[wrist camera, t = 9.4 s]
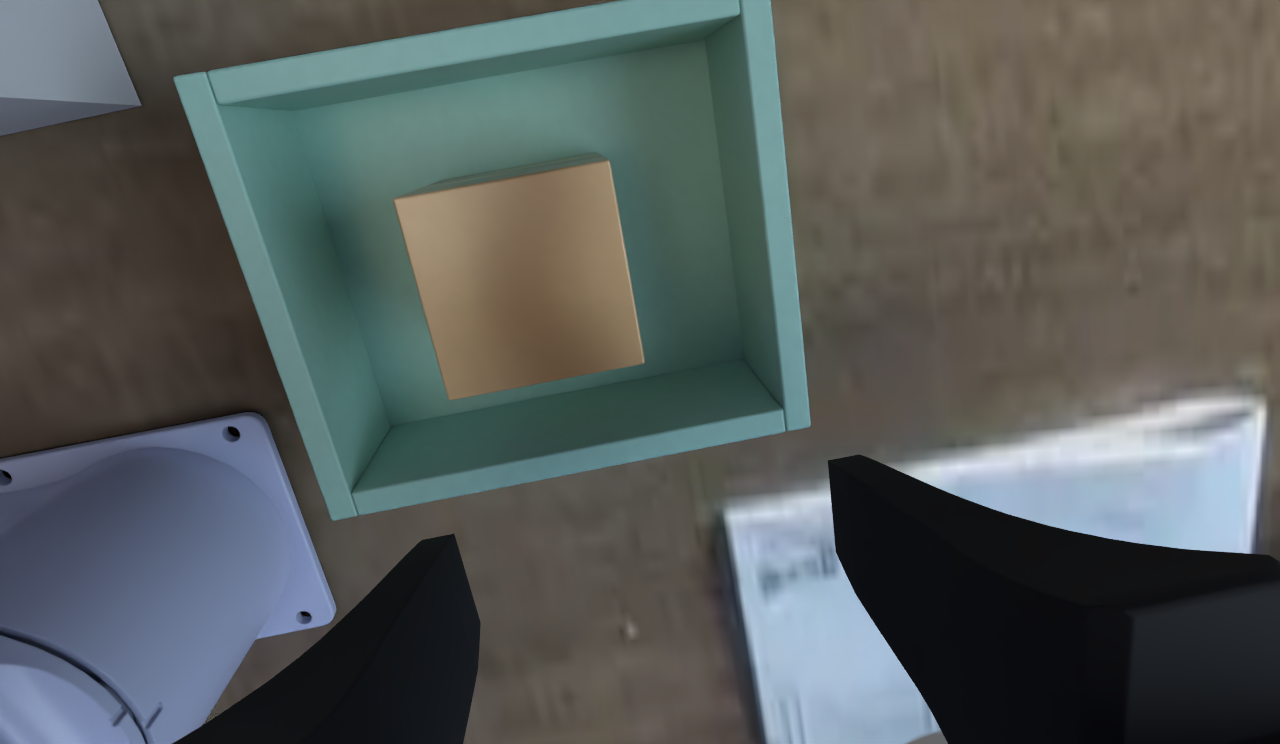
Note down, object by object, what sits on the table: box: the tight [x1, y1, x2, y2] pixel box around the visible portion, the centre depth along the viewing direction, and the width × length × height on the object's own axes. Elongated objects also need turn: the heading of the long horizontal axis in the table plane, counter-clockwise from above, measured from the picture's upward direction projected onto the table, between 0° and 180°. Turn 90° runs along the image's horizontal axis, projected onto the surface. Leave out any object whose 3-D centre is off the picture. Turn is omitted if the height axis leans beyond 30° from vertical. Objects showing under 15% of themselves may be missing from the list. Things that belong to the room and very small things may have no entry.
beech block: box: [393, 152, 645, 400], centre depth 18 cm, size 5×5×6 cm
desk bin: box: [173, 0, 811, 521], centre depth 19 cm, size 13×11×5 cm
